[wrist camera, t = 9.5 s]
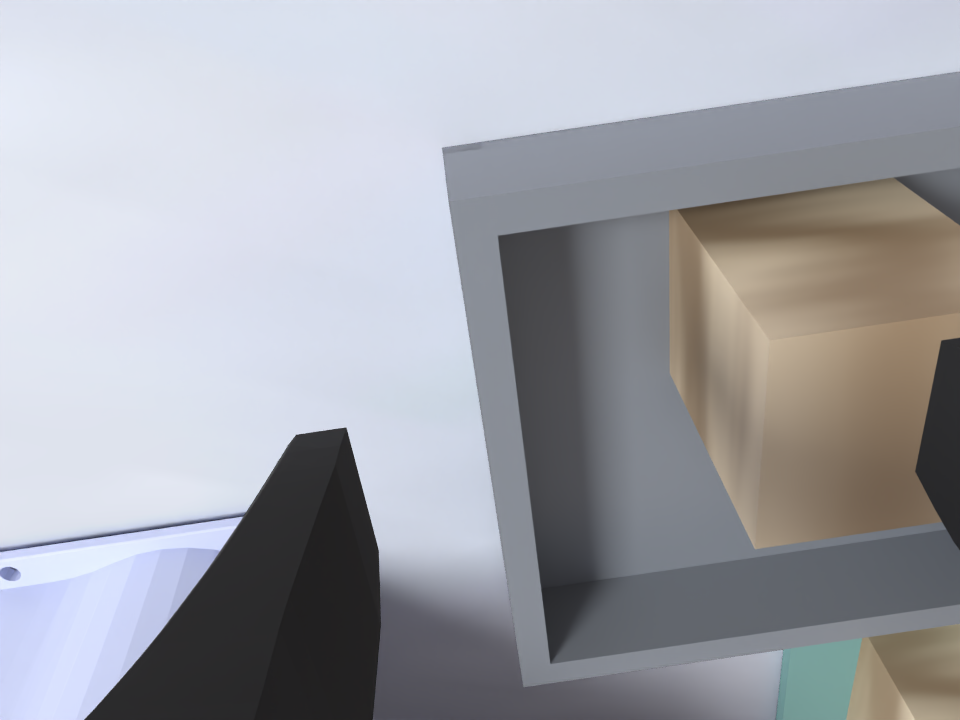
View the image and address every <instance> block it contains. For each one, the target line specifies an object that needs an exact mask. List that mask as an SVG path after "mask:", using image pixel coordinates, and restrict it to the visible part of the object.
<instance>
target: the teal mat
mask: <svg viewBox="0 0 960 720" xmlns="http://www.w3.org/2000/svg"><path fill="white" fill-rule="evenodd" d="M861 642H862V638H859V639H852V640H846V641H839V642H832V643H825V644H818V645H811V646H804V647H798V648H791V649H784V650H783V658H782V667H781V677H780V686H779V696H778V705H777V714H776V720H846V718H847V713H848V707H849V702H850V697H851V692H852V687H853V682H854V677H855V672H856V667H857V662H858V657H859V652H860V647H861Z"/></svg>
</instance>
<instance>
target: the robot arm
mask: <svg viewBox="0 0 960 720" xmlns="http://www.w3.org/2000/svg"><path fill="white" fill-rule="evenodd" d="M915 472H916V474H917V476H918V478H919V480H920V482H921V484H922V486H923V488H924V489H925V491H926V493H927V495H928V497H929V499H930V501H931V503H932V505H933V507H934V509H935V510H936V512H937V514H938V516H939V517H940V519H941V521H942V523H943V524H944V526H945V528H946V529H947V531H948V533H949V535H950V536H951V538H952V540H953V542H954V543H955V544H956V546H957V547H958V549H959V550H960V338H954V339H947V340H941V344H940V349H939V354H938V359H937V364H936V369H935V374H934V379H933V384H932V389H931V394H930V399H929V404H928V409H927V414H926V419H925V424H924V429H923V434H922V439H921V444H920V449H919V454H918V459H917V464H916V469H915ZM9 567H12V568H15V569H17V570H14V569H11V568H9ZM380 628H381V617H380V578H379V550H378V546H377V542H376V538H375V535H374V531H373V527H372V523H371V519H370V516H369V512H368V508H367V504H366V501H365V497H364V493H363V489H362V485H361V482H360V478H359V474H358V470H357V466H356V463H355V459H354V455H353V451H352V447H351V444H350V440H349V436H348V432H347V428H340V429H333V430H326V431H319V432H312V433H306V434H299V435H296V436H295V437H294V438H293V440H292V441H291V442H290V443H289V445H288V447H287V448H286V450H285V451H284V453H283V455H282V456H281V458H280V459H279V461H278V463H277V464H276V466H275V468H274V469H273V471H272V472H271V474H270V476H269V477H268V479H267V480H266V482H265V484H264V485H263V487H262V488H261V490H260V492H259V493H258V495H257V496H256V498H255V499H254V501H253V503H252V504H251V506H250V507H249V509H248V510H247V512H246V513H245V515H244V517H237V518H231V519H224V520H217V521H210V522H203V523H196V524H190V525H183V526H176V527H169V528H162V529H155V530H149V531H142V532H135V533H128V534H121V535H114V536H108V537H101V538H94V539H87V540H80V541H73V542H67V543H60V544H53V545H46V546H39V547H32V548H26V549H19V550H12V551H5V552H0V720H372V719H373V708H374V698H375V687H376V675H377V664H378V652H379V640H380Z"/></svg>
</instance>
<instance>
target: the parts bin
mask: <svg viewBox="0 0 960 720" xmlns="http://www.w3.org/2000/svg"><path fill="white" fill-rule="evenodd" d="M442 150H443V158H444V166H445V175H446V183H447V191H448V200H449V207H450V213H451V220H452V226H453V233H454V239H455V246H456V252H457V259H458V265H459V272H460V278H461V285H462V291H463V298H464V304H465V311H466V317H467V324H468V330H469V337H470V343H471V350H472V357H473V363H474V370H475V376H476V383H477V389H478V396H479V402H480V409H481V415H482V422H483V428H484V435H485V441H486V448H487V454H488V461H489V467H490V474H491V480H492V487H493V493H494V500H495V506H496V513H497V519H498V526H499V532H500V539H501V545H502V552H503V558H504V565H505V571H506V578H507V585H508V591H509V598H510V604H511V611H512V617H513V624H514V630H515V637H516V643H517V650H518V656H519V663H520V669H521V676H522V682H523V687H530V686H537V685H544V684H550V683H557V682H564V681H571V680H578V679H585V678H592V677H599V676H605V675H612V674H619V673H626V672H633V671H640V670H647V669H653V668H660V667H667V666H674V665H681V664H688V663H695V662H701V661H708V660H715V659H722V658H729V657H736V656H743V655H750V654H756V653H763V652H770V651H777V650H784V649H791V648H798V647H804V646H811V645H818V644H825V643H832V642H839V641H846V640H852V639H859V638H866V637H873V636H880V635H887V634H894V633H901V632H907V631H914V630H921V629H928V628H935V627H942V626H949V625H955V624H960V550H959V549H958V547H957V546H956V544H955V543H954V542H953V540H952V538H951V536H950V535H949V533H948V531H947V529H946V528H945V526H944V524H943V523H942V522H938V523H931V524H925V525H918V526H911V527H904V528H897V529H890V530H884V531H877V532H870V533H863V534H856V535H849V536H842V537H836V538H829V539H822V540H815V541H808V542H801V543H794V544H788V545H781V546H774V547H767V548H760V549H755V548H754V546H753V544H752V542H751V540H750V538H749V536H748V534H747V532H746V530H745V528H744V526H743V524H742V522H741V519H740V517H739V515H738V513H737V511H736V509H735V507H734V505H733V503H732V501H731V499H730V497H729V495H728V493H727V491H726V489H725V486H724V484H723V482H722V480H721V478H720V476H719V474H718V472H717V470H716V468H715V466H714V464H713V462H712V460H711V458H710V455H709V453H708V451H707V449H706V447H705V445H704V443H703V441H702V439H701V437H700V435H699V433H698V431H697V429H696V427H695V424H694V422H693V420H692V418H691V416H690V414H689V412H688V410H687V408H686V406H685V404H684V402H683V400H682V398H681V396H680V394H679V391H678V389H677V387H676V385H675V383H674V381H673V379H672V377H671V375H670V309H669V210H676V209H683V208H690V207H696V206H703V205H710V204H717V203H724V202H730V201H737V200H744V199H751V198H758V197H764V196H771V195H778V194H785V193H792V192H798V191H805V190H812V189H819V188H826V187H832V186H839V185H846V184H853V183H860V182H866V181H873V180H880V179H887V178H895V179H896V180H897V181H899V182H900V183H902V184H903V185H904V186H906V187H907V188H909V189H910V190H911V191H913V192H914V193H915V194H917V195H918V196H920V197H921V198H922V199H924V200H925V201H927V202H928V203H929V204H931V205H932V206H933V207H935V208H936V209H938V210H939V211H940V212H942V213H943V214H944V215H946V216H947V217H949V218H950V219H951V220H953V221H954V222H956V223H957V224H958V225H960V72H955V73H948V74H941V75H934V76H928V77H921V78H914V79H907V80H900V81H894V82H887V83H880V84H873V85H866V86H860V87H853V88H846V89H839V90H833V91H826V92H819V93H812V94H805V95H799V96H792V97H785V98H778V99H771V100H765V101H758V102H751V103H744V104H737V105H731V106H724V107H717V108H710V109H704V110H697V111H690V112H683V113H676V114H670V115H663V116H656V117H649V118H642V119H636V120H629V121H622V122H615V123H608V124H602V125H595V126H588V127H581V128H575V129H568V130H561V131H554V132H547V133H541V134H534V135H527V136H520V137H513V138H507V139H500V140H493V141H486V142H479V143H473V144H466V145H459V146H452V147H445V148H442Z"/></svg>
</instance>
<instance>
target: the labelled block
mask: <svg viewBox="0 0 960 720" xmlns="http://www.w3.org/2000/svg"><path fill="white" fill-rule="evenodd" d="M846 720H960V624H955V625H949V626H942V627H935V628H928V629H921V630H914V631H907V632H901V633H894V634H887V635H880V636H873V637H866V638H862V642H861V647H860V652H859V657H858V662H857V667H856V672H855V677H854V682H853V687H852V692H851V697H850V702H849V707H848V713H847V718H846Z"/></svg>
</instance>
